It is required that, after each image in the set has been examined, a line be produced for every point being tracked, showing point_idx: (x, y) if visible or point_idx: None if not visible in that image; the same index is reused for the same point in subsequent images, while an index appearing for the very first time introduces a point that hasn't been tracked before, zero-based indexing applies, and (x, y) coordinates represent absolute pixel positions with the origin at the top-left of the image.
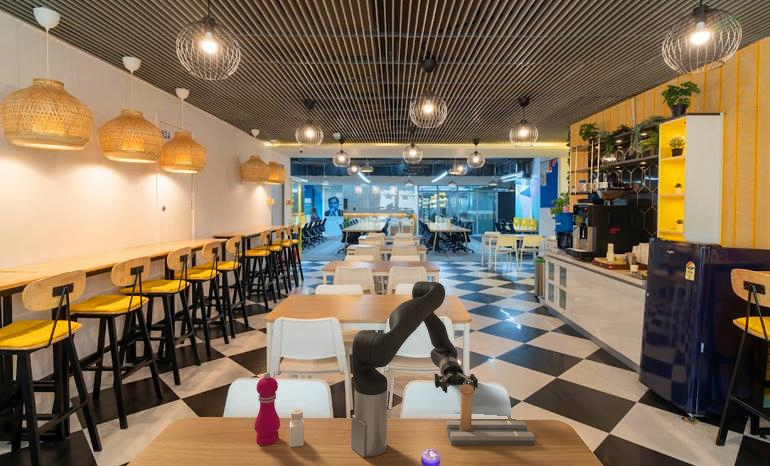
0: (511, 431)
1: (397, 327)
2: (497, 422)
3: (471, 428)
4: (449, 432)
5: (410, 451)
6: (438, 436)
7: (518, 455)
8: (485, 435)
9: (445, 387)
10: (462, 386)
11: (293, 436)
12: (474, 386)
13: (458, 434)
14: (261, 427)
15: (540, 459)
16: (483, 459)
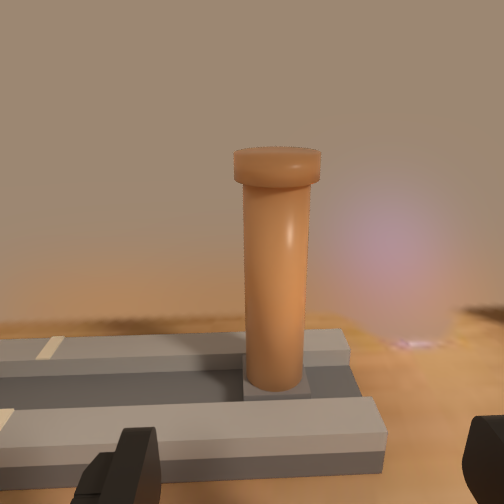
0: (29, 404)
1: None
2: (66, 427)
3: (245, 370)
4: (355, 384)
5: (479, 331)
6: (408, 409)
7: (104, 331)
8: (195, 336)
9: (498, 418)
10: (304, 152)
11: None
12: (90, 473)
13: (312, 337)
14: None
15: (46, 321)
16: (231, 315)
